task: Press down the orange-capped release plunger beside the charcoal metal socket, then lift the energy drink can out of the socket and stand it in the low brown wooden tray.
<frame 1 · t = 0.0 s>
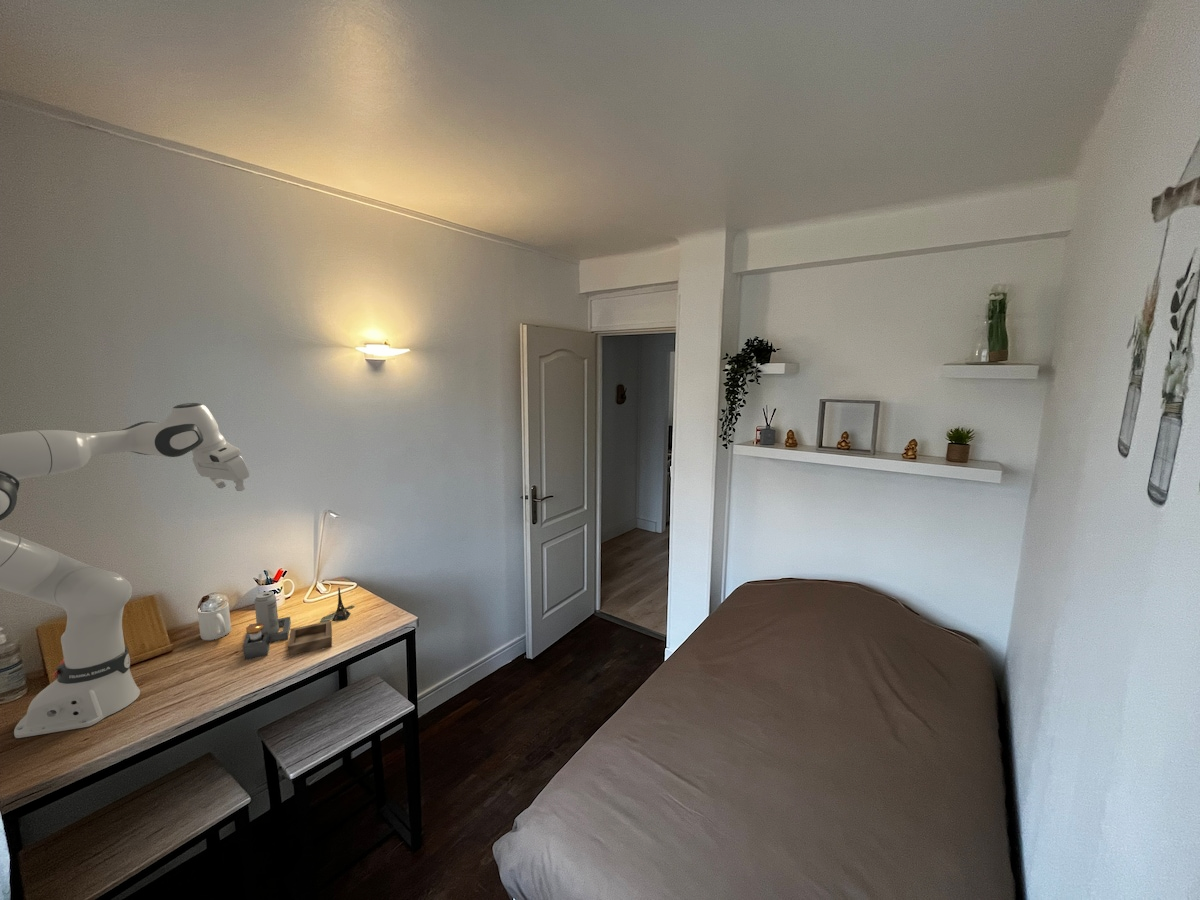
hand: (231, 488, 155), 52 cm above the table, tool tilted 20°, fingers open, 8 cm apart
socket block: (268, 635, 163), on the table
eiffel tower figurine: (341, 618, 177), on the table
mug: (218, 636, 162), on the table
energy drink can: (268, 635, 163), resting in socket block
brown wooden tray: (311, 642, 159), on the table
release plunger: (255, 635, 152), point 6 cm above the table, slide at 0.0 cm
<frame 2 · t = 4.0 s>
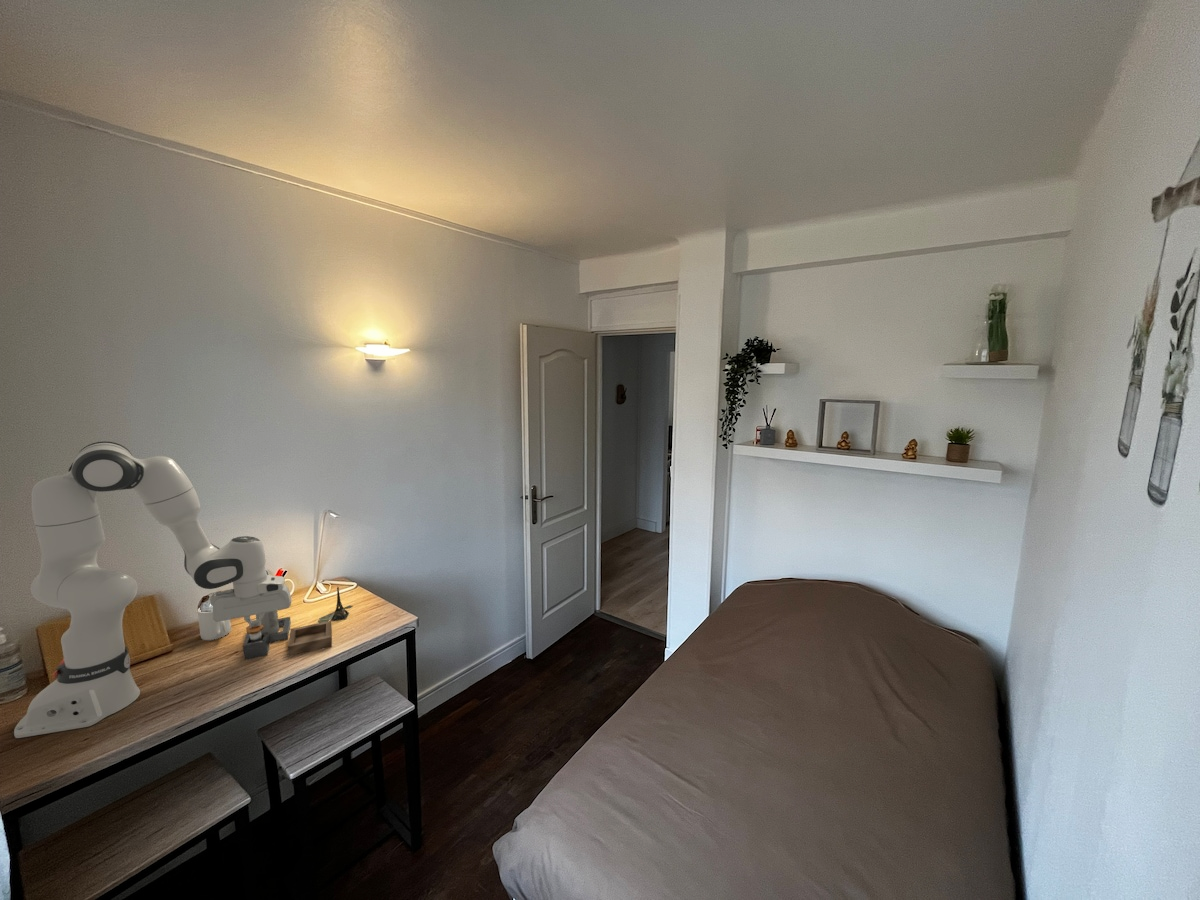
hand: (255, 626, 152), 9 cm above the table, tool pointing down, fingers closed, pressing on release plunger
release plunger: (255, 635, 152), point 6 cm above the table, slide at 0.0 cm, touching gripper
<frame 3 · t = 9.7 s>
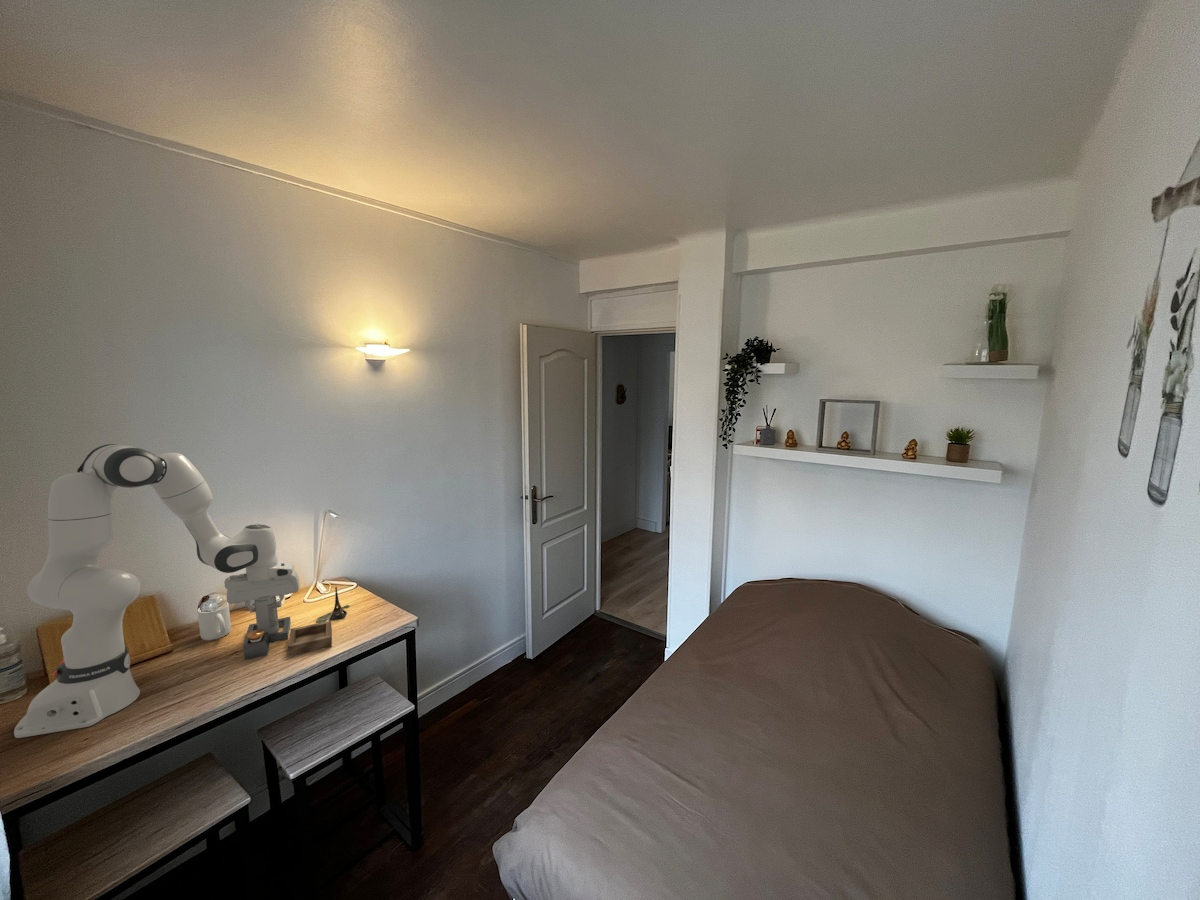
hand: (266, 609, 162), 10 cm above the table, tool pointing down, fingers closed on energy drink can, 6 cm apart
energy drink can: (268, 635, 163), resting in socket block, touching gripper
release plunger: (256, 641, 152), point 4 cm above the table, slide at 2.2 cm
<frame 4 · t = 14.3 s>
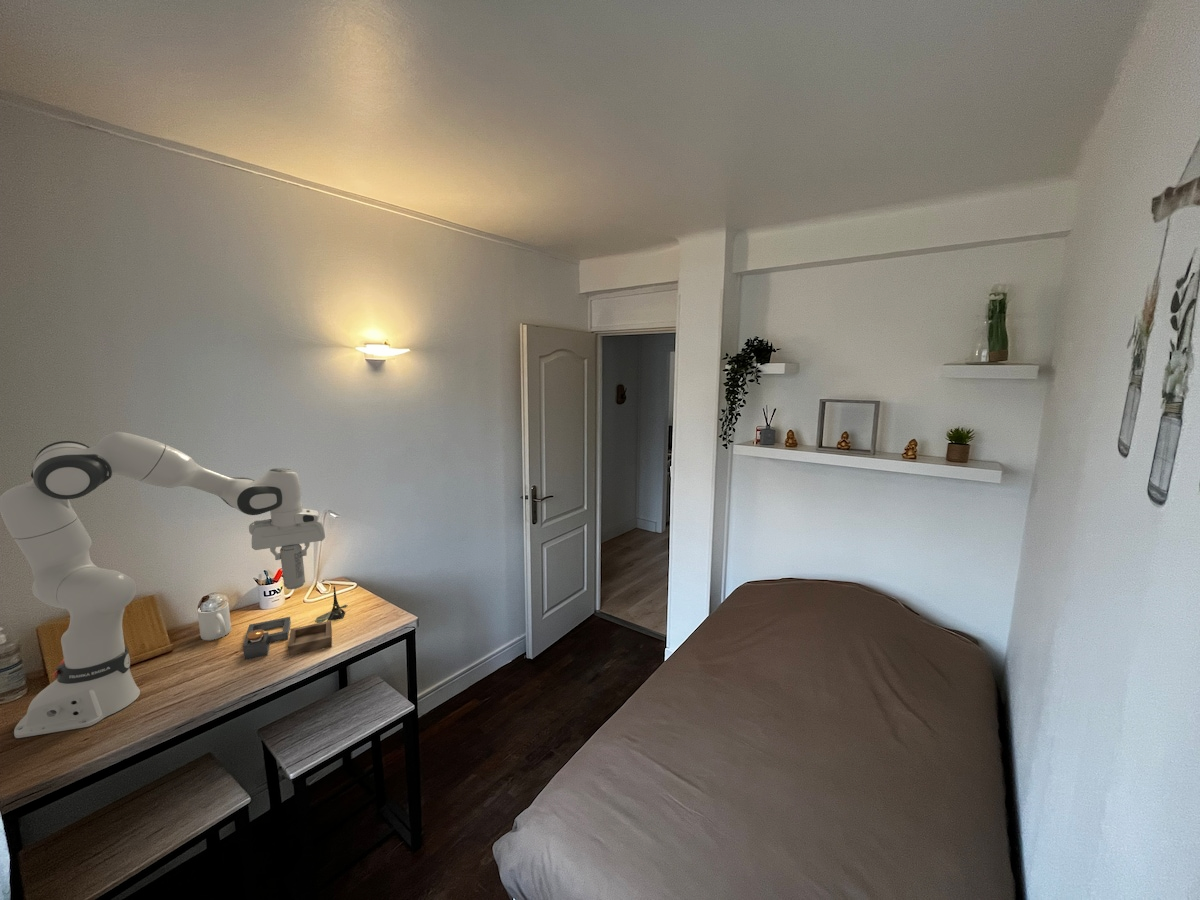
hand: (291, 557, 156), 30 cm above the table, tool pointing down, fingers closed on energy drink can, 6 cm apart
energy drink can: (295, 586, 158), point 19 cm above the table, touching gripper
when the fingers open (12 cm above the table, at t = 18.5 s): energy drink can moves 2 cm, resting on brown wooden tray.
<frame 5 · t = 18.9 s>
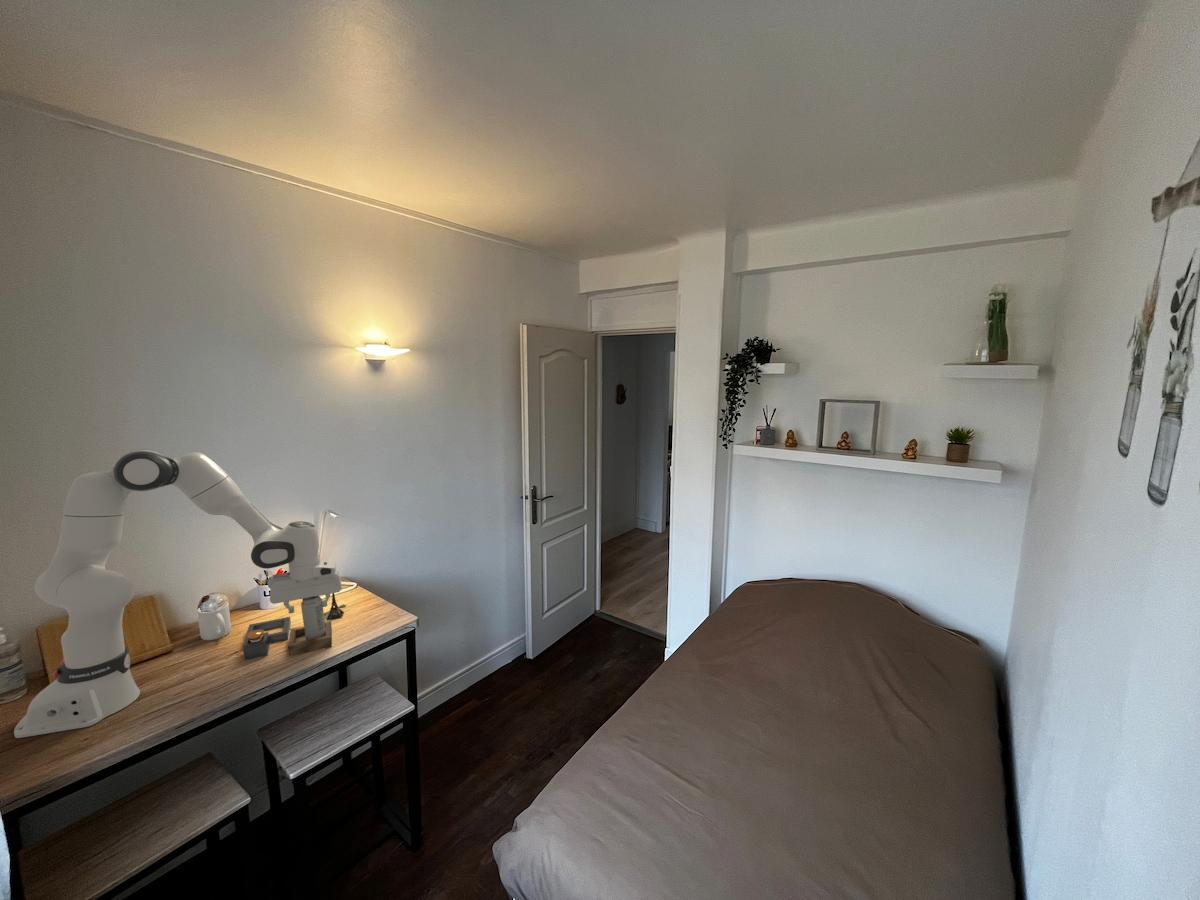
hand: (308, 609, 157), 12 cm above the table, tool pointing down, fingers open, 8 cm apart
energy drink can: (316, 638, 160), point 1 cm above the table, touching gripper, brown wooden tray
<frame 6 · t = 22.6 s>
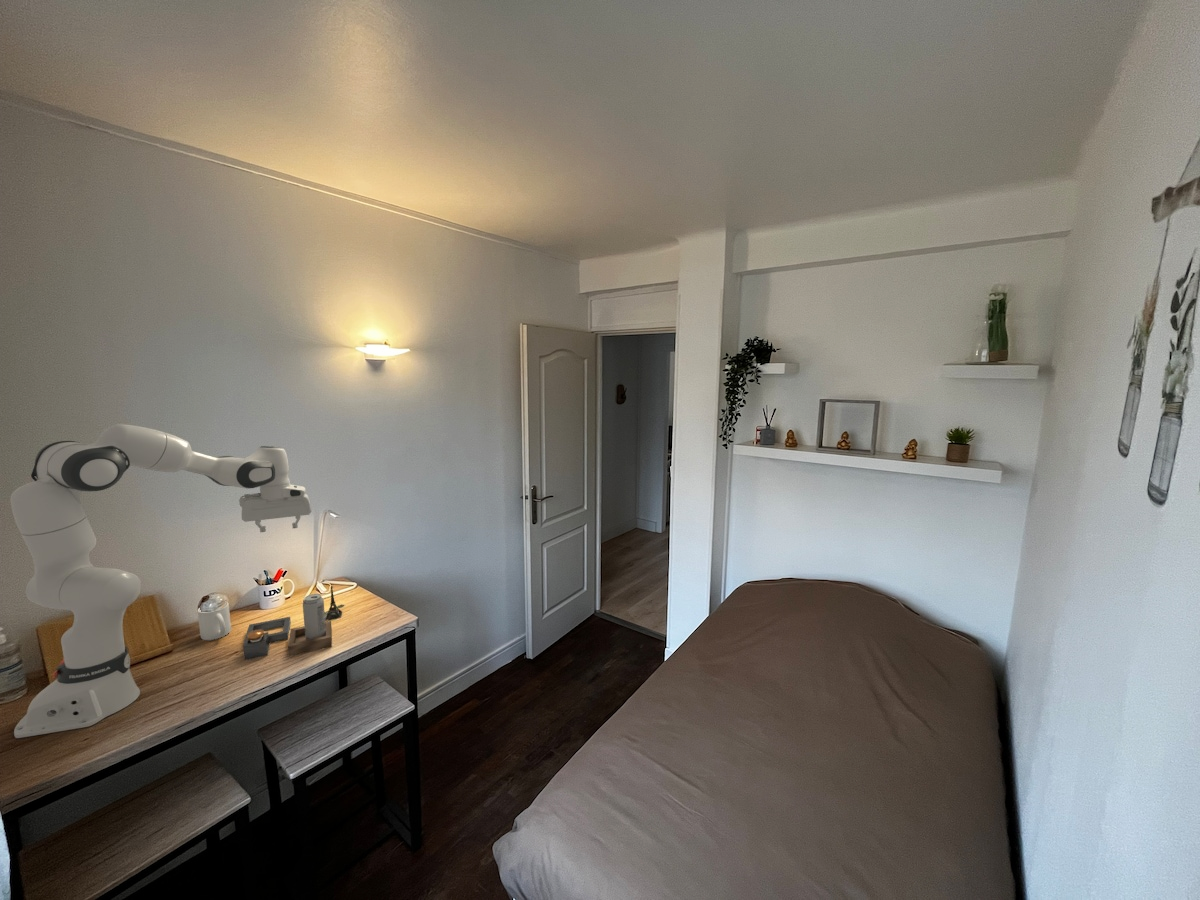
hand: (279, 529, 166), 35 cm above the table, tool pointing down, fingers open, 8 cm apart
energy drink can: (316, 639, 160), point 1 cm above the table, touching brown wooden tray
at the end: release plunger slide at 2.2 cm; energy drink can 1.5 cm off-centre on the brown wooden tray, point 0.8 cm above the brown wooden tray's base; energy drink can tilted 0° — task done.
